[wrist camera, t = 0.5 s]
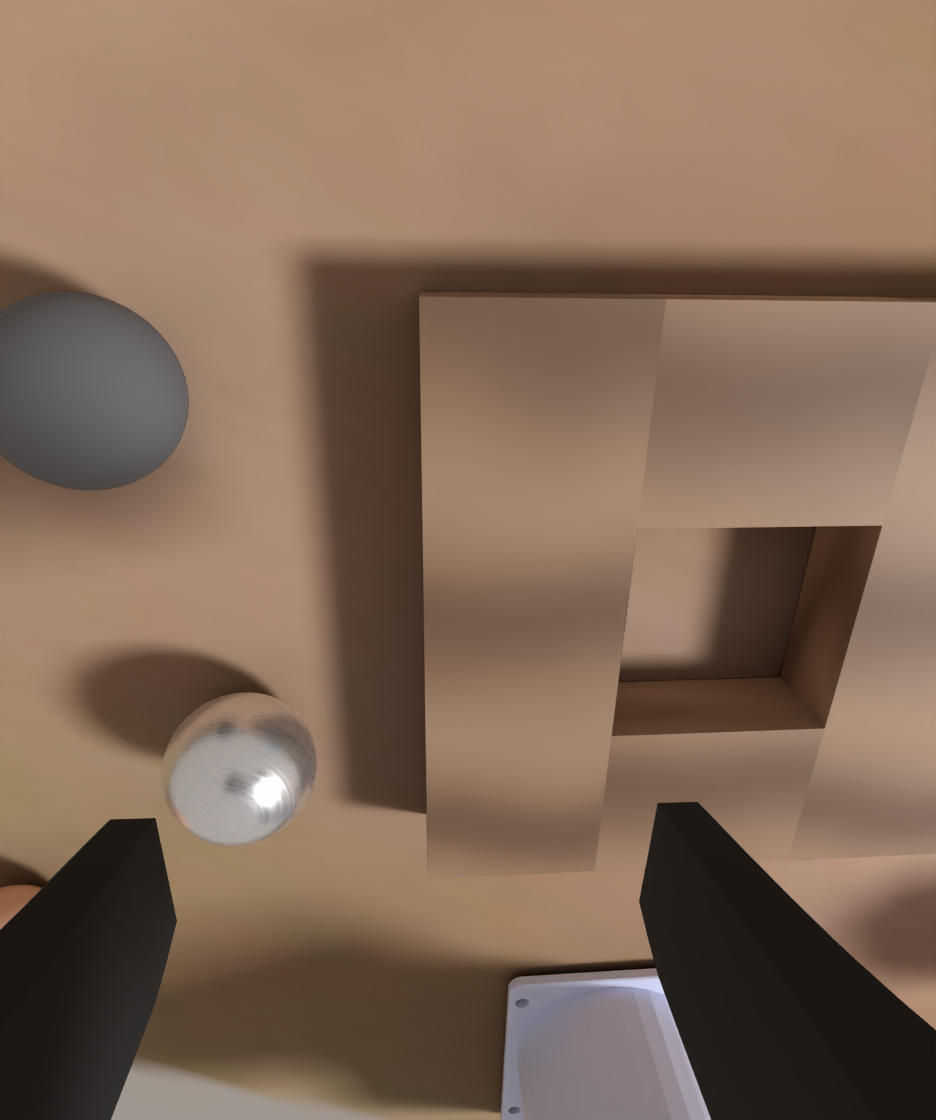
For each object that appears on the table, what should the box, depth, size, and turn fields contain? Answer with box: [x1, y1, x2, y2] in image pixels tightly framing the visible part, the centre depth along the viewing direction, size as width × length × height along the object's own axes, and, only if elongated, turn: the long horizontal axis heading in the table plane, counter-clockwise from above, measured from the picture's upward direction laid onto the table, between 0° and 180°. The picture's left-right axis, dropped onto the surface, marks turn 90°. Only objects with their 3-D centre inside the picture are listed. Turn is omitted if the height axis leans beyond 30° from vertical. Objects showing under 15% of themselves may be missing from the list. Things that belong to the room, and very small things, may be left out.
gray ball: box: [0, 291, 189, 490], centre depth 14 cm, size 4×4×4 cm
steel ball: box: [161, 692, 317, 847], centre depth 18 cm, size 4×4×4 cm
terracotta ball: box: [0, 885, 42, 929], centre depth 21 cm, size 4×4×4 cm
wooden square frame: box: [419, 291, 936, 879], centre depth 18 cm, size 16×16×2 cm
